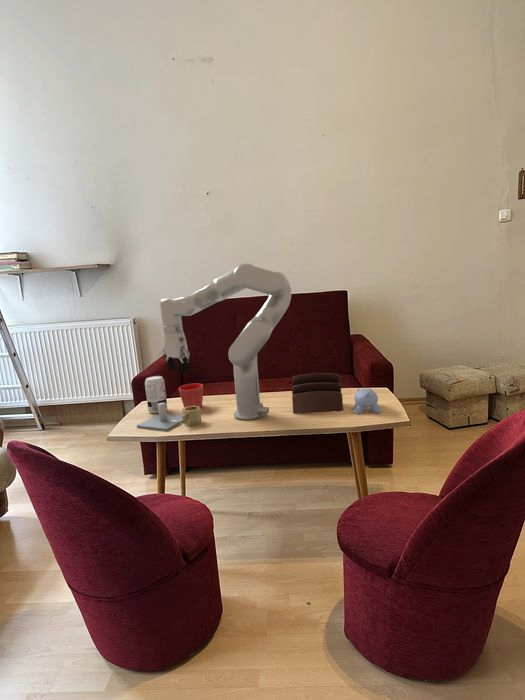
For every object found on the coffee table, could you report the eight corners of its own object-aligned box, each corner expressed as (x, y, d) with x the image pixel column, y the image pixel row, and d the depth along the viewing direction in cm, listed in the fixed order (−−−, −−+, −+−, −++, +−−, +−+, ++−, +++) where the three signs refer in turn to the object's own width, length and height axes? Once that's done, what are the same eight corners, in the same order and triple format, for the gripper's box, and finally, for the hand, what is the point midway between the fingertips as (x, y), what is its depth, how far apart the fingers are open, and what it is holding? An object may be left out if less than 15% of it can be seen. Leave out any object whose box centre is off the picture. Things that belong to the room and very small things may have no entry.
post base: (190, 418, 184) (188, 399, 183) (166, 431, 171) (164, 411, 170) (161, 415, 191) (159, 397, 190) (136, 427, 178) (134, 408, 177)
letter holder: (293, 406, 190) (291, 373, 187) (341, 404, 188) (339, 371, 185) (293, 414, 180) (290, 380, 177) (343, 411, 178) (341, 377, 175)
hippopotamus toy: (376, 403, 185) (376, 380, 183) (384, 415, 170) (383, 390, 168) (350, 404, 186) (349, 382, 184) (355, 416, 171) (354, 392, 169)
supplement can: (147, 410, 200) (143, 377, 197) (166, 407, 203) (162, 374, 200) (149, 415, 193) (145, 381, 190) (169, 412, 195) (165, 378, 193)
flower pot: (176, 411, 195) (173, 389, 194) (188, 403, 206) (186, 383, 204) (198, 412, 192) (195, 390, 190) (209, 404, 202) (207, 383, 200)
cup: (190, 419, 183) (189, 405, 182) (204, 420, 180) (202, 406, 179) (177, 426, 175) (176, 412, 174) (191, 428, 172) (189, 413, 171)
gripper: (193, 328, 175) (198, 371, 178) (169, 327, 187) (174, 367, 190) (177, 331, 170) (182, 375, 173) (153, 330, 182) (159, 371, 185)
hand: (178, 371), depth 181 cm, fingers open, 9 cm apart
